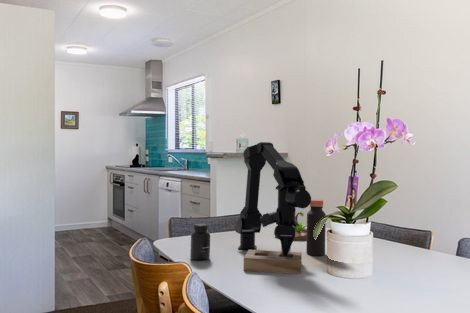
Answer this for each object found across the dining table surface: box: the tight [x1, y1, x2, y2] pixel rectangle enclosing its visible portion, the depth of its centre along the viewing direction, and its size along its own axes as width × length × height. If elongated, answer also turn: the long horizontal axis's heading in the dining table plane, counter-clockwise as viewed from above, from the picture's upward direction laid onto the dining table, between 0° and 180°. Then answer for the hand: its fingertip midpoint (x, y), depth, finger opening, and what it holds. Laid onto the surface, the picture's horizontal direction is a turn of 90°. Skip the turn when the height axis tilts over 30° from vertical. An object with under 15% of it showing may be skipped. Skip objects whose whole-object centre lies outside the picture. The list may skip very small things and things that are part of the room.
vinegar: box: [305, 199, 327, 257], centre depth 164 cm, size 7×7×20 cm
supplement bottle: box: [190, 223, 211, 262], centre depth 155 cm, size 7×7×12 cm
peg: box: [280, 245, 292, 257], centre depth 144 cm, size 3×3×10 cm
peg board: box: [243, 249, 303, 275], centre depth 145 cm, size 12×18×4 cm, turn 81°
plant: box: [273, 211, 307, 242], centre depth 199 cm, size 20×20×11 cm
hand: (285, 252), depth 144 cm, fingers open, 9 cm apart
